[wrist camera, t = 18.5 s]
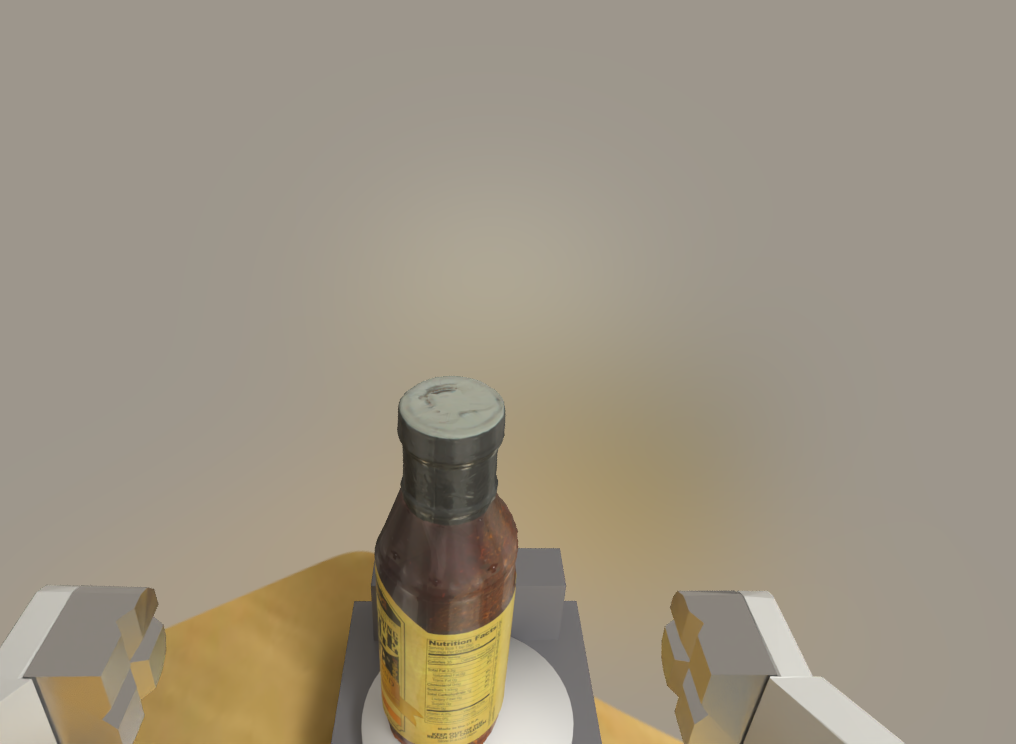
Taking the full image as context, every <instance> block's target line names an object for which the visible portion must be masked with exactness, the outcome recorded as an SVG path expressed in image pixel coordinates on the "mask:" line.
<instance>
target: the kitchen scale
mask: <svg viewBox="0 0 1016 744" xmlns="http://www.w3.org/2000/svg"><path fill="white" fill-rule="evenodd" d="M515 566H516V567H515V568H516V590H515V600H514V609H513V618H512V627H511V636H510V645H509V654H508V663H507V672H506V680H505V689H504V699H503V703H502V707H501V710H500V712H499V714H498V718H497V720H496V723H495V725H494V727H493V730H492V732H491V733H490V735H489V736H488V737H487V739H486V741H485V742H484V743H483V744H602V741H601V736H600V730H599V725H598V719H597V713H596V708H595V702H594V697H593V691H592V685H591V680H590V674H589V669H588V663H587V658H586V652H585V647H584V641H583V635H582V630H581V624H580V618H579V614H578V607H577V602H576V601H564V596H565V590H566V583H565V578H564V571H563V565H562V559H561V553H560V549H559V548H557V549H556V548H555V549H554V548H541V549H540V548H538V549H537V548H518V552H517V558H516V562H515ZM371 595H372V601H354V607H353V613H352V619H351V625H350V631H349V637H348V643H347V649H346V656H345V662H344V668H343V674H342V680H341V686H340V692H339V698H338V705H337V711H336V717H335V723H334V729H333V735H332V741H331V744H401V743H400V742H399V741H398V740H397V739H396V738H395V737H394V735H393V733H392V731H391V729H390V725H389V722H388V719H387V716H386V714H385V712H384V709H383V704H382V697H381V676H380V658H379V638H378V619H377V595H376V575H375V561H374V569H373V576H372V583H371Z"/></svg>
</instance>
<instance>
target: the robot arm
mask: <svg viewBox="0 0 1016 744" xmlns="http://www.w3.org/2000/svg"><path fill="white" fill-rule="evenodd" d="M157 607H158V601H157V597H156V594H155V591H154V589H151V588H146V587H114V586H84V585H81V586H70V585H46V586H44V587H43V588H42V589H40V590H39V591H38V592H37V593H35V595H34V596H33V598H32V599H31V601H30V602H29V604H28V605H27V607H26V609H25V610H24V612H23V613H22V615H21V616H20V618H19V619H18V621H17V622H16V624H15V625H14V627H13V628H12V630H11V631H10V633H9V634H8V636H7V638H6V639H5V641H4V642H3V644H2V645H1V647H0V744H133V742H134V740H135V737H136V735H137V732H138V730H139V727H140V725H141V723H142V720H143V718H144V712H143V708H142V704H141V700H142V699H143V698H144V697H145V696H147V695H148V694H149V693H150V692H151V691H153V690H154V689H155V688H156V686H157V683H158V680H159V678H160V675H161V673H162V670H163V664H164V659H165V654H166V634H165V629H164V625H163V624H162V623H161V622H159V621H158V620H157V619H156V618H155V617H153V616H154V613H155V611H156V609H157ZM670 609H671V612H672V615H673V618H674V619H673V620H672V621H671V622H670V623H668V624H667V625H666V626H665V628H664V633H663V638H662V656H661V658H662V665H663V671H664V675H665V679H666V683H667V686H668V687H669V688H670V689H671V690H672V691H673V692H674V693H675V694H676V695H677V696H678V697H679V698H678V702H677V705H676V708H675V714H676V718H677V722H678V725H679V728H680V732H681V736H682V739H683V742H684V744H905V743H904V742H902V741H901V740H900V739H899V738H897V737H896V736H895V735H894V734H893V733H891V732H890V731H889V730H887V729H886V728H885V727H884V726H883V725H881V724H880V723H879V722H878V721H876V720H875V719H874V718H873V717H871V716H870V715H869V714H868V713H867V712H865V711H864V710H863V709H861V708H860V707H859V706H858V705H857V704H855V703H854V702H853V701H852V700H850V699H849V698H848V697H846V696H845V695H844V694H843V693H842V692H840V691H839V690H838V689H837V688H836V687H834V686H833V685H832V684H831V683H829V682H828V681H827V680H826V679H824V678H823V677H820V676H812V674H811V672H810V669H809V668H808V666H807V663H806V661H805V660H804V657H803V655H802V653H801V651H800V649H799V647H798V645H797V643H796V641H795V639H794V637H793V635H792V633H791V631H790V629H789V627H788V625H787V623H786V621H785V619H784V617H783V615H782V613H781V611H780V609H779V607H778V605H777V603H776V601H775V599H774V596H773V595H772V594H770V593H769V592H768V591H737V592H736V591H677V592H676V594H675V595H674V596H673V599H672V602H671V606H670Z"/></svg>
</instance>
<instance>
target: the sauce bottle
mask: <svg viewBox="0 0 1016 744" xmlns="http://www.w3.org/2000/svg"><path fill="white" fill-rule="evenodd" d="M504 428H505V406H504V401H503V399H502V397H501V396H500V395H499V394H498V393H497V391H496V390H494V389H493V388H491V387H489V386H487V385H486V384H484V383H482V382H481V381H478V380H475V379H471V378H465V377H458V376H444V377H435V378H432V379H429V380H426V381H423V382H421V383H419V384H417V385H416V386H414V387H413V388H411V389H410V390H408V391H407V392H406V393H405V394H404V396H403V397H402V398H401V399H400V402H399V407H398V427H397V430H398V436H399V439H400V441H401V443H402V445H403V463H404V464H403V477H402V480H401V488H400V490H399V493H398V495H397V497H396V500H395V502H394V504H393V507H392V509H391V511H390V513H389V516H388V518H387V520H386V523H385V525H384V527H383V529H382V531H381V533H380V535H379V537H378V539H377V542H376V546H375V575H376V595H377V619H378V638H379V658H380V676H381V697H382V704H383V709H384V712H385V714H386V716H387V719H388V722H389V725H390V729H391V731H392V733H393V735H394V737H395V738H396V739H397V740H398V741H399V742H400V743H401V744H483V743H484V742H485V741H486V739H487V737H488V736H489V735H490V733H491V732H492V730H493V727H494V725H495V723H496V720H497V718H498V714H499V712H500V710H501V707H502V703H503V699H504V689H505V680H506V672H507V663H508V654H509V645H510V636H511V627H512V618H513V609H514V600H515V590H516V568H515V567H516V566H515V562H516V558H517V552H518V539H517V532H518V531H517V528H516V524H515V522H514V520H513V516H512V514H511V513H510V511H509V509H508V507H507V505H506V504H505V503H504V501H503V500H502V499H501V498H500V497H499V496H498V494H497V486H498V479H497V476H496V469H497V452H498V448H499V447H500V445H501V443H502V441H503V438H504Z"/></svg>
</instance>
